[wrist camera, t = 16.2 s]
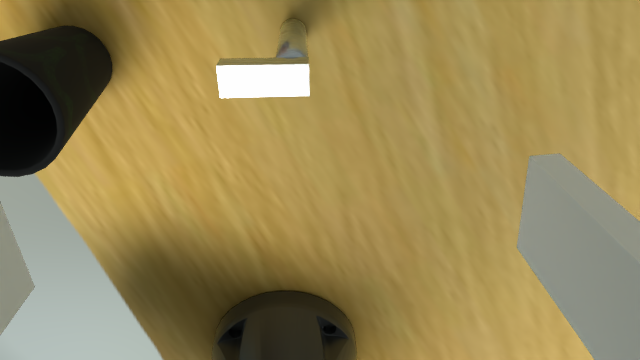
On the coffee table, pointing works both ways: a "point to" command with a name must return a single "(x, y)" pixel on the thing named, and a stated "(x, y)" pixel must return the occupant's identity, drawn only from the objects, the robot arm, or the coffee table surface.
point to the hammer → (269, 69)
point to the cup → (46, 93)
